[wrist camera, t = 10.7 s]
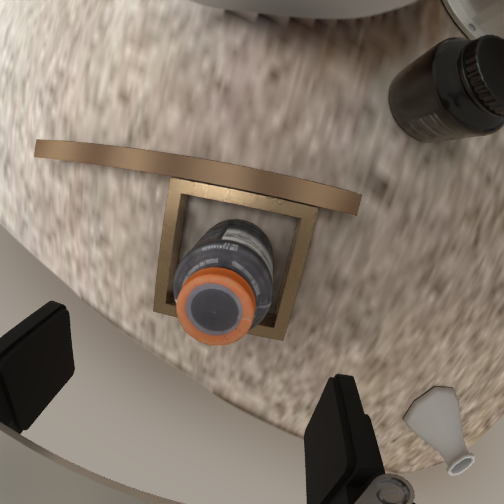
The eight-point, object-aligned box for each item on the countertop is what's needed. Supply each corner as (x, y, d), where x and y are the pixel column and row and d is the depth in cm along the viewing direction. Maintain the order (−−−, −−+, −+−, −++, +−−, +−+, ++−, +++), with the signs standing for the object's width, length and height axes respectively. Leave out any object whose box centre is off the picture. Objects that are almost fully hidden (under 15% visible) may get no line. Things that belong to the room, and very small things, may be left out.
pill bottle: (211, 293, 28) (176, 368, 17) (192, 227, 26) (140, 268, 15) (279, 280, 27) (283, 353, 16) (263, 211, 26) (258, 243, 15)
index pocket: (313, 204, 25) (318, 208, 23) (282, 326, 28) (283, 340, 26) (179, 176, 25) (170, 177, 23) (162, 299, 28) (153, 311, 26)
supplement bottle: (465, 122, 22) (556, 110, 11) (414, 156, 24) (503, 155, 12) (426, 56, 21) (502, 9, 9) (371, 86, 22) (437, 35, 11)
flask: (435, 376, 29) (473, 435, 19) (465, 395, 30) (501, 447, 20) (391, 420, 31) (416, 484, 21) (426, 434, 31) (451, 490, 22)
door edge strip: (348, 190, 25) (362, 194, 21) (344, 208, 25) (356, 215, 21) (62, 140, 25) (36, 139, 21) (59, 156, 25) (33, 156, 21)
